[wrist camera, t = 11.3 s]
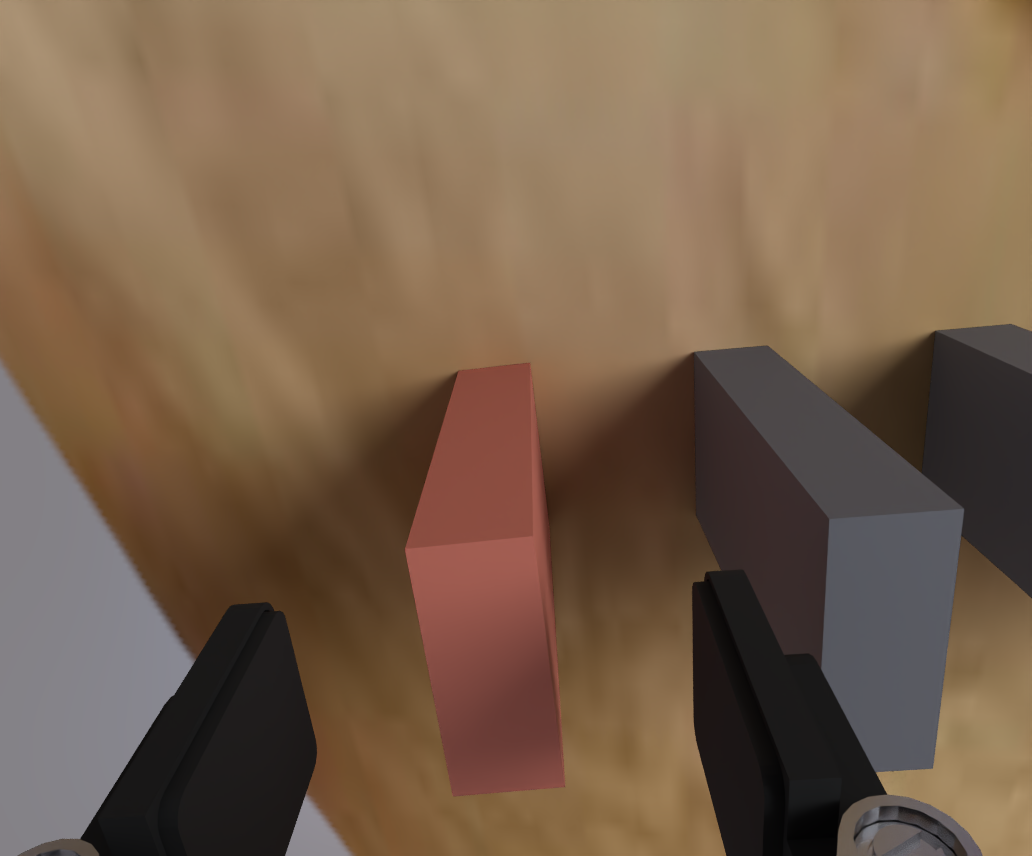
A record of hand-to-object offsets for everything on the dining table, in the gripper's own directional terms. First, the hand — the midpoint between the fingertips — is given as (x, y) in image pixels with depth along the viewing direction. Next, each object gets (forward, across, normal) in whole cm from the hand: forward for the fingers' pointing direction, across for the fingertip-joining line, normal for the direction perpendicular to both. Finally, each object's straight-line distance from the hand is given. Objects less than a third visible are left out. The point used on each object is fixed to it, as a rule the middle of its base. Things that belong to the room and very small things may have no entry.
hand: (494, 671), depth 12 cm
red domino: (+11, 0, +1) cm, 11 cm away
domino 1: (+11, -6, +1) cm, 12 cm away
